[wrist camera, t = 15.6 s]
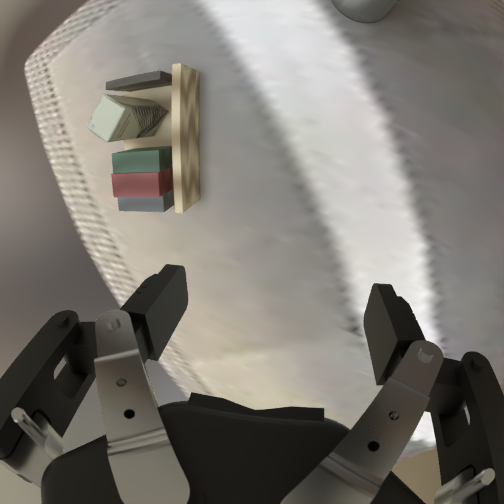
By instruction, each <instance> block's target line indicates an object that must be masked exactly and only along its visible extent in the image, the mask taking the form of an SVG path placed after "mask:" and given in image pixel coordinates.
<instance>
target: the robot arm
mask: <svg viewBox="0 0 504 504" xmlns="http://www.w3.org/2000/svg"><path fill="white" fill-rule="evenodd" d="M398 1H399V0H332V2H333V4H334V5H335V7H336V8H337V9H338V10H339V11H340V12H341V13H342V14H344V15H345V16H347V17H349V18H351V19H353V20H356V21H359V22H366V23H370V22H376V21H379V20H381V19H382V18H383V17H384V16H385V15H386V14H387V13H388V12H389V11H390V10H391V9H392V7H393V6H394V5H395V4H396V3H397V2H398ZM187 305H188V291H187V282H186V272H185V268H184V266H180V265H170V264H166V265H165V266H164V268H163V269H162V270H161V271H160V272H159V273H158V274H154V275H152V276H150V277H149V278H147V279H145V280H144V282H143V283H142V284H141V285H140V287H138V289H137V290H136V291H135V293H133V294H132V296H131V297H130V298H129V299H128V300H127V301H126V303H125V304H124V305H123V306H122V307H121V309H120V310H111V311H107V312H105V313H103V314H101V315H100V316H99V317H98V318H97V320H96V322H80V320H79V317H78V315H77V313H76V312H74V311H71V310H66V311H61V312H58V313H56V314H55V315H54V316H52V317H51V318H50V319H49V320H48V322H47V323H46V324H45V325H44V326H43V327H42V328H41V329H40V331H39V332H38V333H37V334H36V335H35V336H34V338H33V339H32V340H31V341H30V342H29V343H28V345H27V346H26V347H25V348H24V350H23V351H22V352H21V353H20V354H19V356H18V357H17V358H16V359H15V361H14V362H13V363H12V364H11V366H10V367H9V368H8V369H7V371H6V372H5V374H4V375H3V376H2V377H1V379H0V463H1V464H2V465H3V466H5V467H6V468H7V469H8V470H10V471H11V472H13V473H15V474H17V475H18V476H19V477H21V478H22V479H24V480H25V481H27V482H30V483H34V484H35V485H37V486H38V487H40V488H41V498H42V504H425V503H424V502H423V501H422V500H421V499H420V498H419V497H418V496H417V495H416V494H415V493H414V492H413V491H412V490H410V488H409V487H407V486H406V485H405V484H404V483H403V482H402V481H401V480H400V479H399V478H398V477H397V476H396V475H395V474H394V473H393V472H392V471H391V469H392V468H393V466H394V465H395V463H396V462H397V460H398V458H399V457H400V455H401V454H402V452H403V450H404V448H405V447H406V445H407V443H408V442H409V440H410V438H411V436H412V434H413V433H414V431H415V429H416V427H417V425H418V423H419V421H420V419H421V417H422V415H423V413H424V411H426V412H430V413H431V418H432V423H433V428H434V433H435V439H436V445H437V451H438V458H439V466H440V474H441V484H442V487H441V488H440V489H439V490H438V491H437V493H436V495H435V499H434V503H433V504H504V395H503V392H502V390H501V387H500V385H499V383H498V380H497V378H496V376H495V373H494V371H493V369H492V367H491V365H490V363H489V361H488V360H487V358H486V357H484V356H483V355H482V354H480V353H478V352H473V351H471V352H467V353H465V354H464V356H463V357H462V359H461V361H457V360H453V359H448V358H444V357H443V353H442V351H441V349H440V348H439V347H438V346H437V345H435V344H434V343H432V342H429V341H426V339H425V337H424V335H423V333H422V330H421V328H420V326H419V324H418V322H417V320H416V318H415V315H414V313H413V311H412V309H411V307H410V305H409V303H407V302H406V301H405V300H404V299H403V298H402V297H401V296H397V295H396V293H395V291H394V289H393V287H392V285H391V284H378V283H374V284H373V286H372V289H371V293H370V296H369V300H368V303H367V307H366V310H365V314H364V330H365V334H366V338H367V343H368V347H369V351H370V356H371V360H372V365H373V370H374V375H375V380H376V385H384V386H383V387H382V389H381V390H380V392H379V393H378V395H377V396H376V397H375V399H374V400H373V402H372V403H371V404H370V406H369V407H368V408H367V410H366V411H365V412H364V414H363V415H362V416H361V418H360V419H359V420H358V421H357V423H356V424H355V425H354V427H353V428H352V429H351V430H350V429H349V428H347V427H346V426H344V425H343V424H341V423H338V422H336V421H334V420H331V419H328V418H324V408H307V407H292V406H291V407H283V408H275V409H265V410H254V409H250V408H248V407H245V406H242V405H239V404H237V403H234V402H231V401H229V400H226V399H224V398H219V397H213V396H208V395H203V394H198V393H193V392H192V393H191V395H190V398H189V400H188V401H180V402H173V403H168V404H165V405H162V406H160V407H159V404H158V402H157V400H156V396H155V394H154V391H153V388H152V385H151V382H150V379H149V376H148V373H147V370H146V367H145V362H146V360H147V359H151V360H155V361H158V359H159V358H160V356H161V354H162V352H163V350H164V348H165V347H166V345H167V343H168V341H169V339H170V337H171V336H172V334H173V332H174V330H175V328H176V327H177V325H178V323H179V321H180V319H181V318H182V316H183V314H184V312H185V311H186V308H187ZM62 358H64V359H65V361H66V364H65V366H64V367H63V369H62V370H61V372H60V373H59V375H58V376H57V378H56V379H55V380H54V370H55V368H56V367H57V365H58V364H59V362H60V361H61V360H62ZM95 378H96V382H97V388H98V395H99V401H100V407H101V413H102V417H103V423H104V427H105V431H106V434H105V435H103V436H102V437H99V438H97V439H96V440H93V441H91V442H89V443H87V444H85V445H83V446H80V447H78V448H76V449H74V450H71V451H69V452H67V453H65V454H64V452H63V440H62V437H63V435H64V433H65V431H66V430H67V428H68V426H69V424H70V422H71V420H72V418H73V416H74V414H75V413H76V411H77V409H78V407H79V405H80V404H81V402H82V400H83V398H84V397H85V395H86V393H87V391H88V390H89V388H90V386H91V385H92V383H93V381H94V379H95ZM466 405H467V409H468V412H469V415H470V424H468V420H467V417H466V413H465V410H464V408H465V407H466Z"/></svg>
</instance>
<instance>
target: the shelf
mask: <svg viewBox="0 0 504 504" xmlns="http://www.w3.org/2000/svg"><path fill="white" fill-rule="evenodd" d="M106 90H115V91H123V96H126V97H135V98H143V99H150V100H152V101H154V102H156V103H158V104H159V105H161V106H162V107H164V108H165V109H166V110H168V111H169V112H168V114H167V115H166V117H165V119H164V120H163V122H162V124H161V125H160V127H159V128H158V130H157V131H156V133H155V134H154V136H153V137H144V138H135V139H127V140H124V151H121V152H117V153H113V154H112V164H113V174H111V175H112V185H113V195H114V197H118V205H119V211H146V212H165V211H166V210H168V209H169V208H170V207H172V206H173V205H174V204H175V213H184V212H185V211H186V210H187V209H188V208H190V207H191V206H192V205H193V204H194V203H196V202H197V201H198V200H199V199H200V188H199V71H197V70H194V69H192V68H190V67H188V66H186V65H184V64H181V63H179V64H173V66H172V73H166V72H163V71H156V72H150V73H145V74H140V75H135V76H130V77H125V78H121V79H117V80H113V81H109V82H106Z"/></svg>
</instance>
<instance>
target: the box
mask: <svg viewBox="0 0 504 504" xmlns="http://www.w3.org/2000/svg"><path fill="white" fill-rule="evenodd" d="M168 112H169V111H168V110H166V109H165V108H164V107H162V106H161V105H159V104H158V103H156V102H154V101H152V100H150V99H143V98H135V97H126V96H117V95H108V94H103V96H102V97H101V99H100V101H99V103H98V105H97V106H96V108H95V110H94V112H93V115H92V117H91V119H90V121H89V123H88V126H87V129H88V130H90V131H91V132H92V133H94V134H95V135H97V136H98V137H99V138H101V139H102V140H104V141H105V142H113V141H120V140H127V139H135V138H144V137H153V136H154V134H155V133H156V131H157V130H158V128H159V127H160V125H161V124H162V122H163V120H164V119H165V117H166V115H167V114H168Z"/></svg>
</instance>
